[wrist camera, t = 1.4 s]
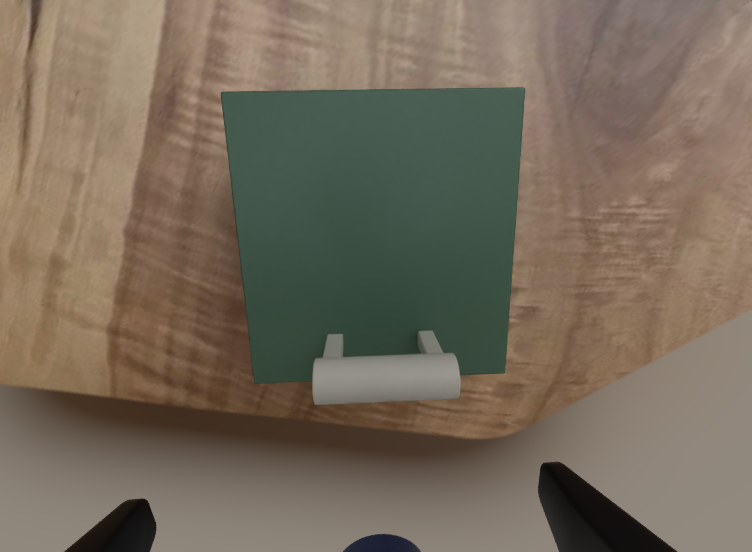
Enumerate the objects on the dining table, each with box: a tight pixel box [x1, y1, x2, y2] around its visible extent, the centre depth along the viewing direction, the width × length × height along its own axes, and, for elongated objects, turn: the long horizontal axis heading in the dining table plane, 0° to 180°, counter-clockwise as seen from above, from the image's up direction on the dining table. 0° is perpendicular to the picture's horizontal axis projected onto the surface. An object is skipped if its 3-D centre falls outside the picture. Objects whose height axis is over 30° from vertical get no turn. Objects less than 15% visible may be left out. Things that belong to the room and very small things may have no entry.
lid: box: [221, 87, 525, 405], centre depth 14 cm, size 12×12×5 cm
